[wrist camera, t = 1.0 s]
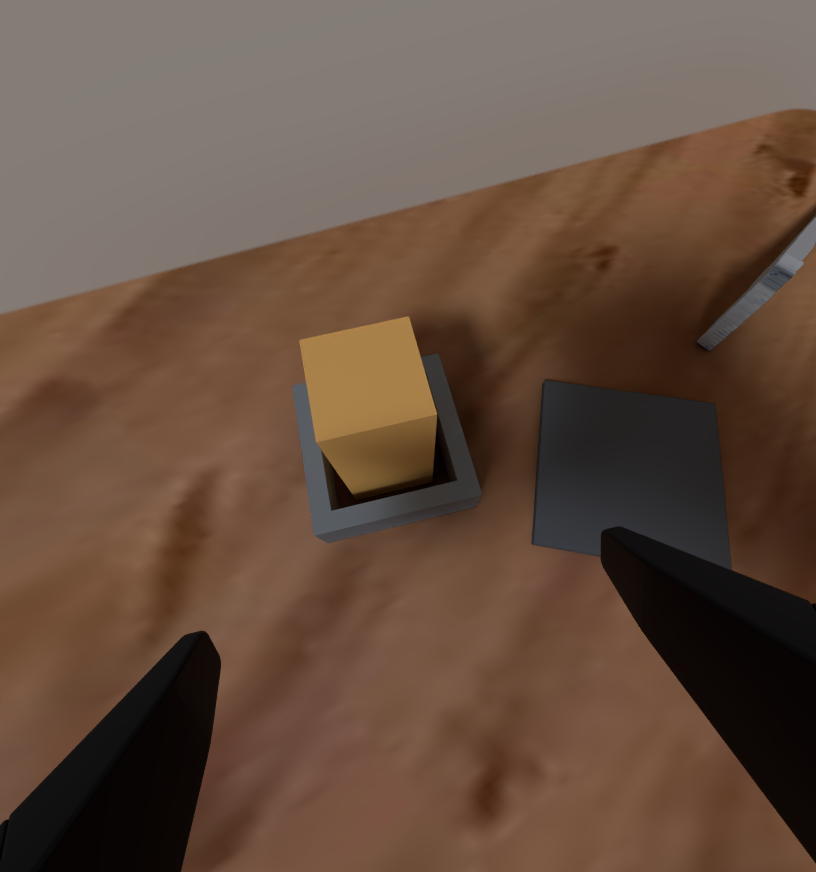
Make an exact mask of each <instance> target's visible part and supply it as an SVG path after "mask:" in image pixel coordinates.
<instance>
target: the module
mask: <svg viewBox="0 0 816 872" xmlns="http://www.w3.org/2000/svg"><path fill="white" fill-rule="evenodd" d="M299 341H300V347H301V353H302V359H303V366H304V372H305V378H306V384H307V390H308V396H309V402H310V409H311V415H312V421H313V427H314V433H315V439H316V443H317V445H318V446H319V447H320V449H321V450H322V452H323V453H324V454H325V456H326V457H327V459H328V460H329V462H330V463H331V464H332V466H333V467H334V469H335V470H336V472H337V473H338V474H339V476H340V477H341V479H342V480H343V482H344V483H345V484H346V486H347V487H348V489H349V490H350V492H351V493H352V494H353V496H354V497H355V499H356V500H359V499H363V498H368V497H372V496H376V495H380V494H384V493H388V492H393V491H397V490H401V489H405V488H409V487H413V486H418V485H422V484H426V483H430V482H432V478H433V464H434V451H435V437H436V424H437V412H436V408H435V405H434V402H433V398H432V395H431V391H430V388H429V384H428V381H427V377H426V374H425V370H424V367H423V364H422V360H421V357H420V353H419V350H418V346H417V343H416V339H415V336H414V332H413V329H412V326H411V322H410V319H409V316H408V317H403V318H399V319H394V320H389V321H385V322H380V323H376V324H371V325H366V326H362V327H357V328H353V329H348V330H343V331H339V332H334V333H330V334H325V335H320V336H316V337H311V338H307V339H302V340H299Z"/></svg>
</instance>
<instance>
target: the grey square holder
mask: <svg viewBox="0 0 816 872" xmlns="http://www.w3.org/2000/svg"><path fill="white" fill-rule="evenodd" d="M421 360H422V364H423V367H424V370H425V374H426V377H427V381H428V384H429V388H430V391H431V395H432V398H433V402H434V405H435V408H436V412H437V424H436V434H437V438H438V441H439V445H440V448H441V452H442V455H443V459H444V462H445V466H446V469H447V473H448V477H449V480H450V482H449V483H445V484H441V485H437V486H433V487H429V488H424V489H420V490H416V491H412V492H408V493H404V494H399V495H395V496H391V497H387V498H383V499H379V500H374V501H370V502H366V503H362V504H358V505H354V506H350V507H345V508H341V509H340V505H339V499H338V494H337V488H336V482H335V476H334V471H333V466H332V464H331V463H330V462H329V460H328V459H327V457H326V456H325V454H324V453H323V452H322V450H321V449H320V447H319V446H318V445H317V443H316V439H315V433H314V427H313V421H312V415H311V409H310V402H309V396H308V390H307V384H306V383H302V384H298V385H293V386H292V388H293V395H294V402H295V409H296V415H297V422H298V429H299V436H300V442H301V449H302V456H303V463H304V470H305V476H306V483H307V490H308V497H309V503H310V510H311V517H312V524H313V530H314V536H316V537H318V538H319V539H321V540H323V541H325V542H327V543H330V542H334V541H338V540H342V539H346V538H351V537H355V536H359V535H363V534H367V533H371V532H375V531H379V530H383V529H387V528H391V527H396V526H400V525H404V524H408V523H412V522H416V521H420V520H424V519H428V518H432V517H436V516H441V515H445V514H449V513H453V512H457V511H461V510H465V509H469V508H473V507H476V505H477V503H478V502H479V500H480V498H481V496H482V492H481V488H480V485H479V482H478V479H477V476H476V472H475V469H474V466H473V463H472V459H471V456H470V453H469V450H468V446H467V443H466V440H465V437H464V434H463V430H462V427H461V424H460V421H459V417H458V414H457V411H456V408H455V404H454V401H453V398H452V395H451V392H450V388H449V385H448V382H447V379H446V375H445V372H444V369H443V366H442V362H441V359H440V356H439V353H436V354H432V355H428V356H423V357H421Z"/></svg>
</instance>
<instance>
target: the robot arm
mask: <svg viewBox="0 0 816 872" xmlns="http://www.w3.org/2000/svg"><path fill="white" fill-rule="evenodd" d="M601 563H602V565H603V568H604V570H605V571H606V573H607V575H608V576H609V578H610V580H611V581H612V583H613V585H614V586H615V588H616V590H617V591H618V593H619V595H620V596H621V598H622V599H623V601H624V603H625V604H626V606H627V608H628V609H629V611H630V613H631V614H632V616H633V618H634V619H635V621H636V622H637V624H638V626H639V627H640V629H641V630H642V632H643V633H644V634H645V636H646V637H647V639H648V640H649V641H650V643H651V644H652V645H653V647H654V648H655V649H656V651H657V652H658V653H659V655H660V656H661V657H662V659H663V660H664V661H665V663H666V664H667V665H668V667H669V668H670V669H671V671H672V672H673V673H674V675H675V676H676V677H677V679H678V680H679V681H680V683H681V684H682V685H683V687H684V688H685V689H686V691H687V692H688V693H689V695H690V696H691V697H692V699H693V700H694V701H695V703H696V704H697V705H698V707H699V708H700V709H701V711H702V712H703V713H704V715H705V716H706V717H707V719H708V720H709V721H710V723H711V724H712V725H713V727H714V728H715V729H716V731H717V732H718V733H719V735H720V736H721V737H722V739H723V740H724V741H725V743H726V744H727V745H728V747H729V748H730V750H731V751H732V752H733V754H734V755H735V756H736V758H737V759H738V760H739V762H740V763H741V764H742V766H743V767H744V768H745V770H746V771H747V772H748V774H749V775H750V776H751V778H752V779H753V780H754V782H755V783H756V784H757V786H758V787H759V788H760V790H761V791H762V792H763V794H764V795H765V796H766V798H767V799H768V800H769V802H770V803H771V804H772V806H773V807H774V808H775V810H776V811H777V812H778V814H779V815H780V816H781V818H782V819H783V820H784V822H785V823H786V824H787V826H788V827H789V828H790V830H791V831H792V832H793V834H794V835H795V836H796V838H797V839H798V840H799V842H800V843H801V844H802V846H803V847H804V848H805V850H806V851H807V852H808V854H809V855H810V856H811V858H812V859H813V860H814V862H815V863H816V604H815V603H813V604H811V603H810V602H809V601H808V600H805V599H803V598H800V597H798V596H795V595H793V594H790V593H788V592H785V591H783V590H780V589H778V588H775V587H772V586H770V585H767V584H765V583H762V582H760V581H757V580H755V579H752V578H750V577H747V576H745V575H742V574H740V573H737V572H735V571H732V570H730V569H727V568H725V567H722V566H720V565H717V564H715V563H712V562H710V561H707V560H704V559H702V558H699V557H697V556H694V555H692V554H689V553H687V552H684V551H682V550H679V549H677V548H674V547H672V546H669V545H667V544H664V543H662V542H659V541H657V540H654V539H652V538H649V537H647V536H644V535H642V534H639V533H637V532H634V531H631V530H629V529H626V528H624V527H621V526H616V527H612V528H608V529H605V530H603V531H602V532H601ZM220 670H221V659H220V656H219V654H218V652H217V650H216V648H215V646H214V644H213V642H212V641H211V639H210V637H209V635H208V634H207V633H206V632H205V631H198V632H194V633H190V634H187V635H184V636H183V637H182V638H181V639H180V640H179V641H178V642H177V643H176V644H175V645H174V646H173V647H172V648H171V649H170V650H169V651H168V652H167V653H166V654H165V655H164V656H163V657H162V658H161V659H160V660H159V661H158V663H157V664H156V665H155V666H154V667H153V668H152V669H151V670H150V671H149V672H148V673H147V674H146V675H145V676H144V677H143V678H142V679H141V680H140V681H139V682H138V683H137V684H136V685H135V686H134V687H133V688H132V689H131V690H130V691H129V693H128V694H127V695H126V696H125V697H124V698H123V699H122V700H121V701H120V702H119V703H118V704H117V705H116V706H115V707H114V708H113V709H112V710H111V711H110V712H109V713H108V714H107V715H106V716H105V717H104V718H103V719H102V720H101V721H100V722H99V724H98V725H97V726H96V727H95V728H94V729H93V730H92V731H91V732H90V733H89V734H88V735H87V736H86V737H85V738H84V739H83V740H82V741H81V742H80V743H79V744H78V745H77V746H76V747H75V748H74V749H73V750H72V751H71V752H70V753H69V755H68V756H67V757H66V758H65V759H64V760H63V761H62V762H61V763H60V764H59V765H58V766H57V767H56V768H55V769H54V770H53V771H52V772H51V773H50V774H49V775H48V776H47V777H46V778H45V779H44V780H43V781H42V782H41V783H40V784H39V786H38V787H37V788H36V789H35V790H34V791H33V792H32V793H31V794H30V795H29V796H28V797H27V798H26V799H25V800H24V801H23V802H22V803H21V804H20V805H19V806H18V807H17V808H16V809H15V810H14V811H13V812H12V813H11V815H10V817H9V819H8V820H5V821H4V822H3V823H2V824H1V825H0V872H181V869H182V865H183V861H184V856H185V852H186V848H187V844H188V839H189V835H190V831H191V826H192V822H193V818H194V813H195V809H196V805H197V801H198V796H199V792H200V788H201V783H202V779H203V775H204V770H205V766H206V762H207V758H208V753H209V748H210V743H211V737H212V731H213V723H214V716H215V708H216V701H217V693H218V685H219V678H220Z"/></svg>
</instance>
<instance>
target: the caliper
mask: <svg viewBox="0 0 816 872" xmlns="http://www.w3.org/2000/svg"><path fill="white" fill-rule="evenodd" d="M815 243H816V215H815V216H814V217H813V218H812V219H811V221H810V222H809V223H808V224H807V225H806V226H805V227H804V228H803V229H802V231H801V232H800V233H799V234H798V235H797V236H796V237H795V238H794V239H793V240H792V242H791V243H790V244H789V245H788V246H787V247H786V248H785V249H784V250H783V252H782V253H781V254H780V255H779V256H778V257H777V258H776V259H775V260H774V262H773V263H772V264H771V265H770V266H769V267H768V268H766V269H765V270H764V271H763V272H762V273H761V275H760V276H759V277H758V278H757V279H756V280H755V281H754V282H753V283H752V285H751V286H750V288H749V289H748V290H747V291H746V292H745V293H744V294H743V295H742V296H741V297H740V298H739V299H738V300H736V301H735V302H734V303H733V304H732V305H731V306H730V307H729V308H728V309H727V310H726V311H725V312H724V313H723V314H722V315H721V316H720V317H719V318H718V319H717V320H716V321H715V322H714V323H713V324H712V325H711V326H710V327H709V328H708V329H709V330H708V331H707V332H705V333H704V334H703V335H702V336H701V337H700V338H699V339H698V340H697V341H696V342H697V343H698V344H700V345H701V346H703V347H704V348H706V349H707V350H709V351H711V350H712V349H713V348H714V347H715V346H716V345H718V344H719V343H720V342H721V341H722V340H723V339H725V338H726V337H727V336H728V335H729V334H730V333H732V332H733V331H734V330H735V329H736V328H737V327H738V326H740V325H741V324H742V323H743V322H744V321H745V320H746V319H747V318H749V317H750V316H751V315H752V314H753V313H754V312H755V311H756V310H757V309H759V308H760V307H761V306H762V305H763V304H764V303H765V302H766V301H767V300H768V299H770V298H771V297H772V296H773V295H774V294H775V292H776V291H777V290H778V289H779V288H781V287H782V286H783V285H784V284H785V283H786V282H787V281H788V280H789V279H790V278H792V277H793V276H794V275H795V274H796V271H797V270H798V269H799V268H800V267H801V266H802V265H803V264H804V263H803V262H802V260H803V259H804V258H805V257H806V256H807V254H808V253H809V252H810V251H811V249H812V248H813V247H814V246H815V245H814V244H815Z"/></svg>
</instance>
